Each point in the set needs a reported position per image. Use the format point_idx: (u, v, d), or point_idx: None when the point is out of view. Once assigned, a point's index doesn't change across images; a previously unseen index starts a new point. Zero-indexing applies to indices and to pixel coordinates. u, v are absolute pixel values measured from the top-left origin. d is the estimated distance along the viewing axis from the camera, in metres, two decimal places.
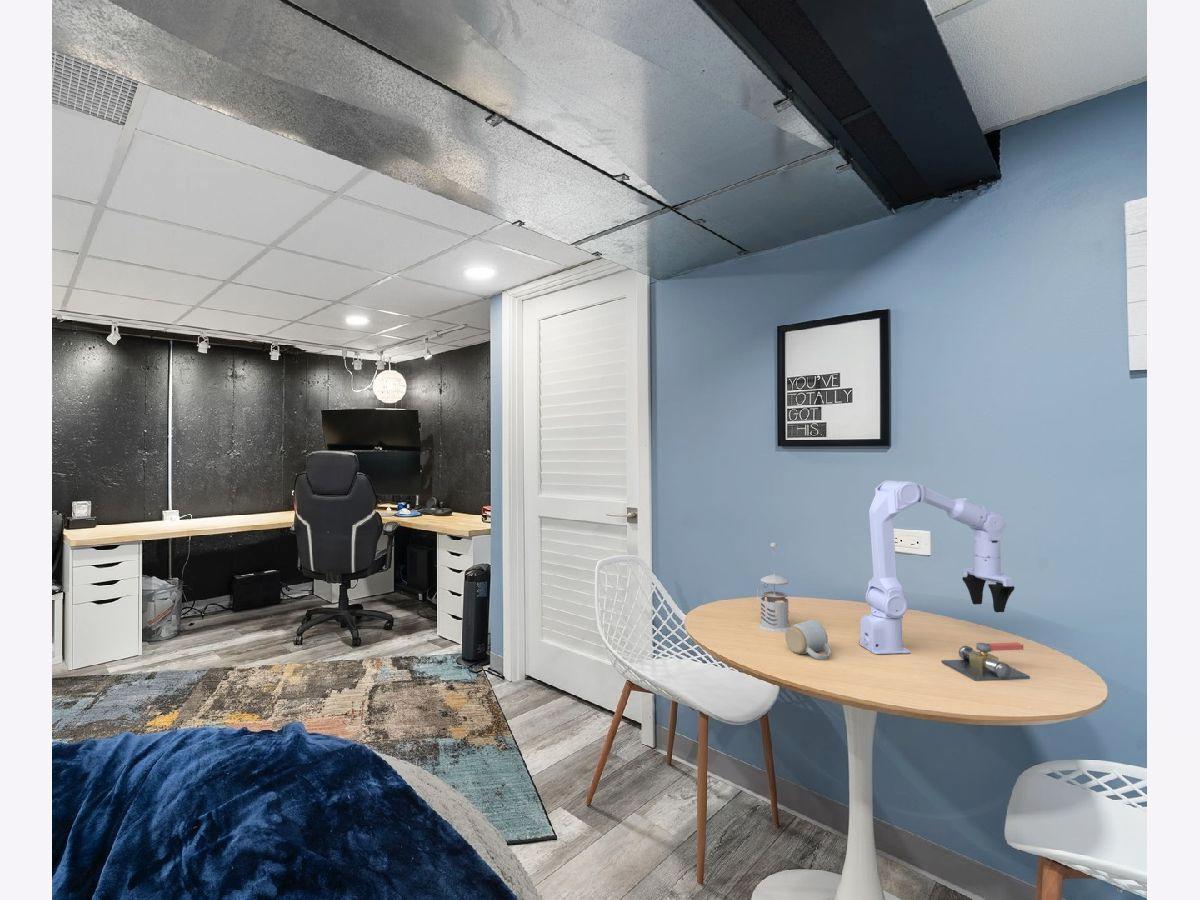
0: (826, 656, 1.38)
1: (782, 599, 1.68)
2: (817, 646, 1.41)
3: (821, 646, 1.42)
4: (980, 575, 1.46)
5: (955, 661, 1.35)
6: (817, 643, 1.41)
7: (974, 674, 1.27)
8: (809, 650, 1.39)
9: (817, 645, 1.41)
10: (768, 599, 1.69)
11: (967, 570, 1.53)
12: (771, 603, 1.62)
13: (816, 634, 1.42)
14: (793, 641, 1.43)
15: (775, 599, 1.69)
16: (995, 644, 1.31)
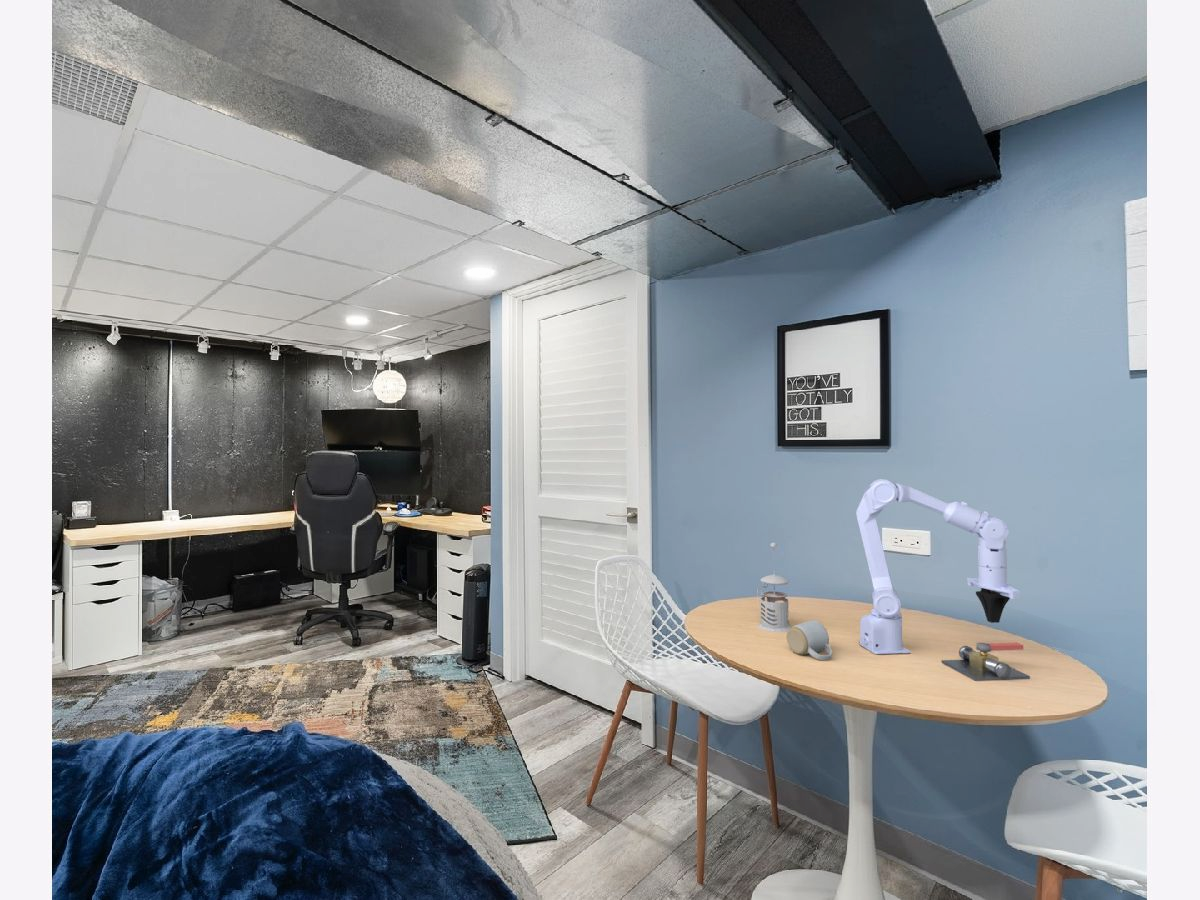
0: (827, 657, 1.38)
1: (782, 599, 1.68)
2: (818, 646, 1.41)
3: (822, 646, 1.42)
4: (985, 586, 1.35)
5: (955, 661, 1.35)
6: (818, 643, 1.41)
7: (974, 674, 1.27)
8: (810, 651, 1.39)
9: (818, 645, 1.41)
10: (768, 599, 1.69)
11: (971, 581, 1.42)
12: (771, 603, 1.62)
13: (817, 634, 1.41)
14: (795, 642, 1.42)
15: (775, 599, 1.69)
16: (995, 644, 1.31)
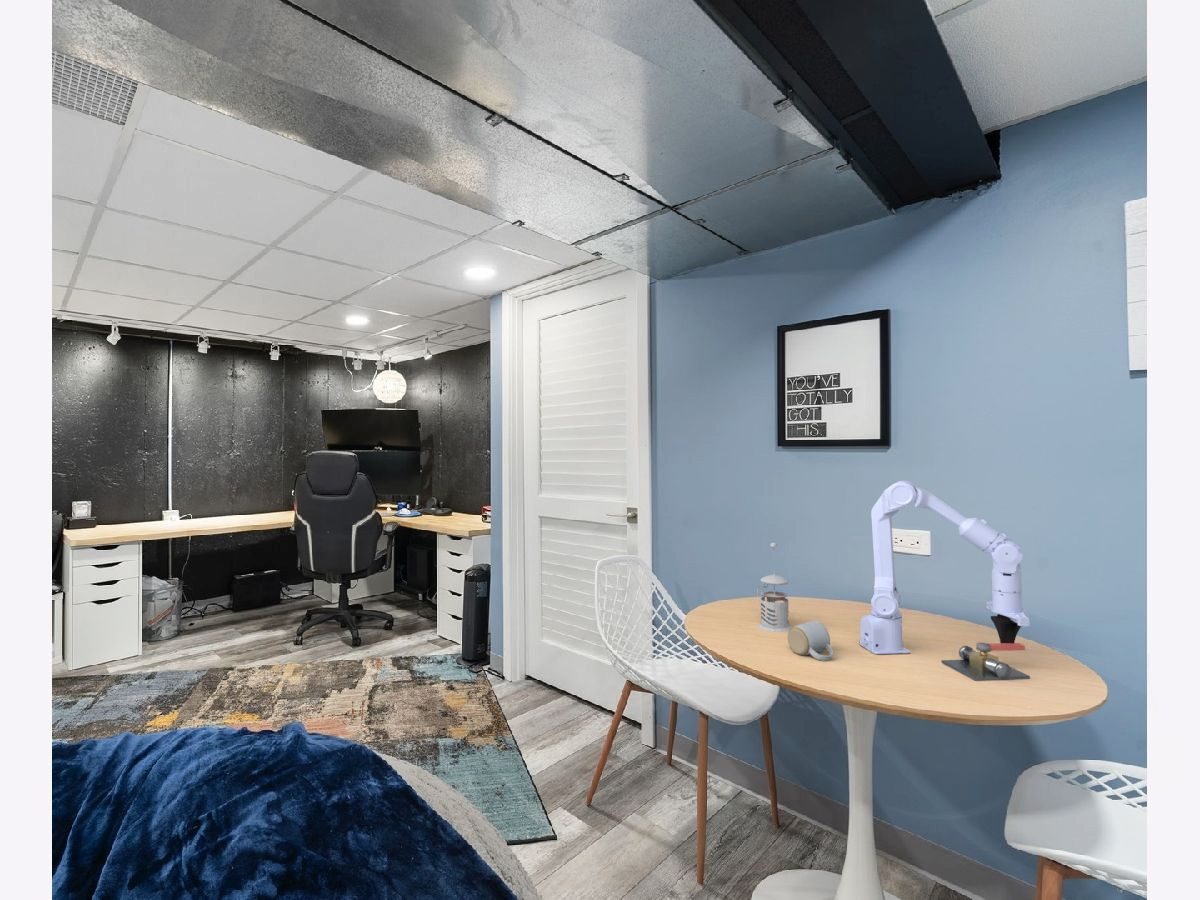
0: (829, 657, 1.37)
1: (782, 599, 1.68)
2: (819, 647, 1.41)
3: (823, 647, 1.41)
4: (996, 611, 1.32)
5: (955, 661, 1.35)
6: (819, 644, 1.40)
7: (974, 674, 1.27)
8: (811, 651, 1.39)
9: (819, 646, 1.41)
10: (768, 599, 1.69)
11: (988, 604, 1.38)
12: (771, 603, 1.62)
13: (818, 635, 1.41)
14: (796, 642, 1.42)
15: (775, 599, 1.69)
16: (995, 644, 1.31)
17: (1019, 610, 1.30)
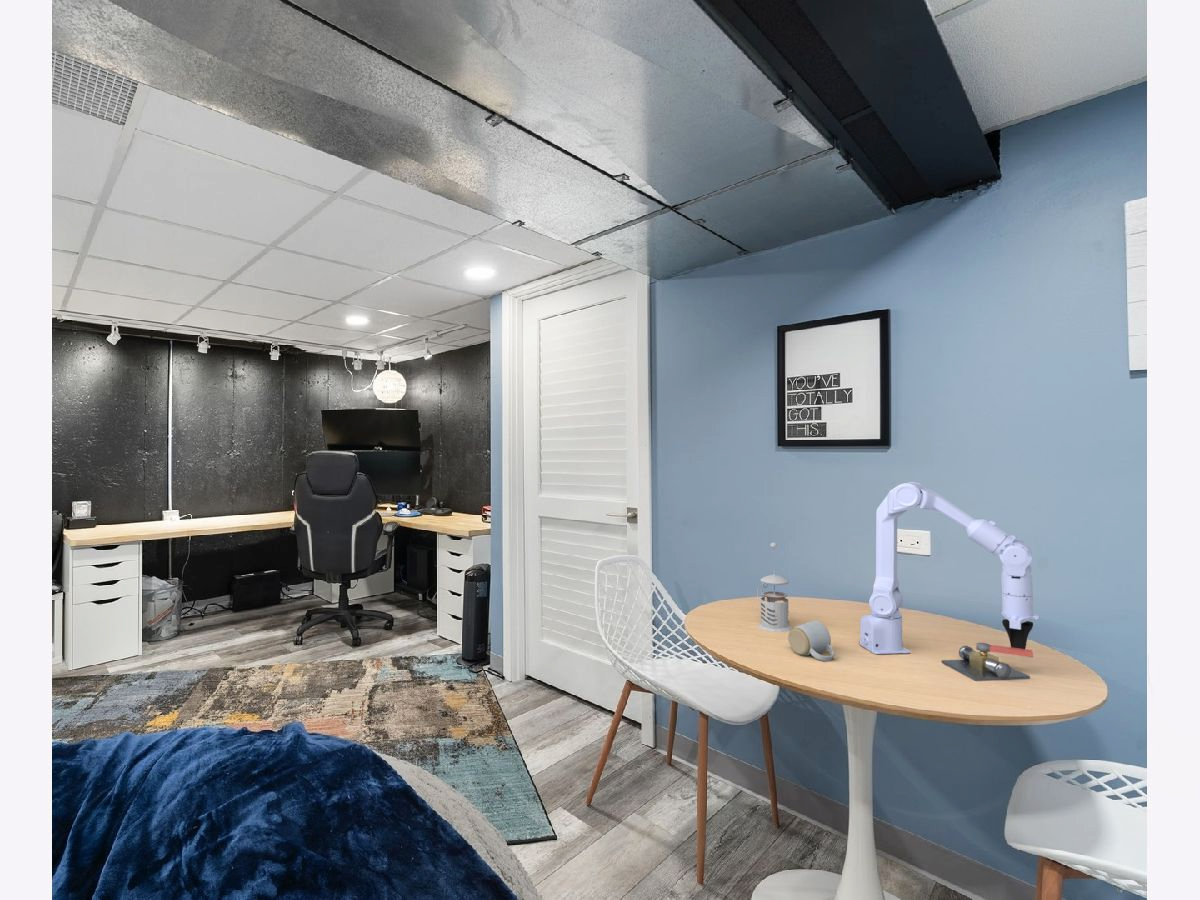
0: (829, 657, 1.37)
1: (782, 599, 1.68)
2: (820, 647, 1.40)
3: (824, 647, 1.41)
4: (1001, 613, 1.30)
5: (955, 661, 1.35)
6: (820, 644, 1.40)
7: (974, 674, 1.27)
8: (812, 651, 1.38)
9: (820, 646, 1.40)
10: (768, 599, 1.69)
11: None
12: (771, 603, 1.62)
13: (819, 635, 1.41)
14: (796, 642, 1.42)
15: (775, 599, 1.69)
16: (998, 646, 1.29)
17: (1024, 614, 1.26)
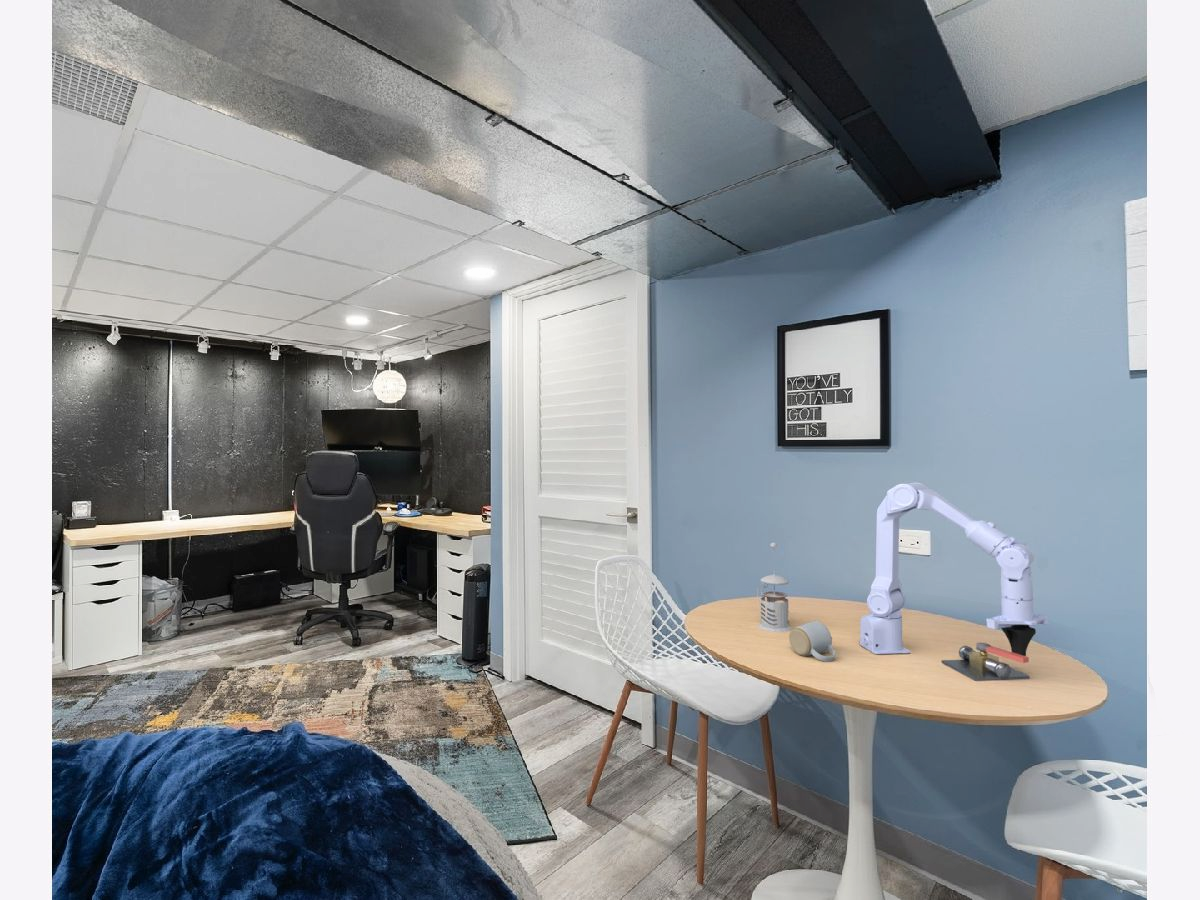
0: (830, 658, 1.37)
1: (782, 599, 1.68)
2: (821, 648, 1.40)
3: (825, 648, 1.41)
4: None
5: (955, 661, 1.35)
6: (821, 645, 1.40)
7: (974, 674, 1.27)
8: (813, 652, 1.38)
9: (821, 647, 1.40)
10: (768, 599, 1.69)
11: None
12: (771, 603, 1.62)
13: (820, 636, 1.40)
14: (797, 643, 1.41)
15: (775, 599, 1.69)
16: (996, 648, 1.28)
17: (1014, 618, 1.23)
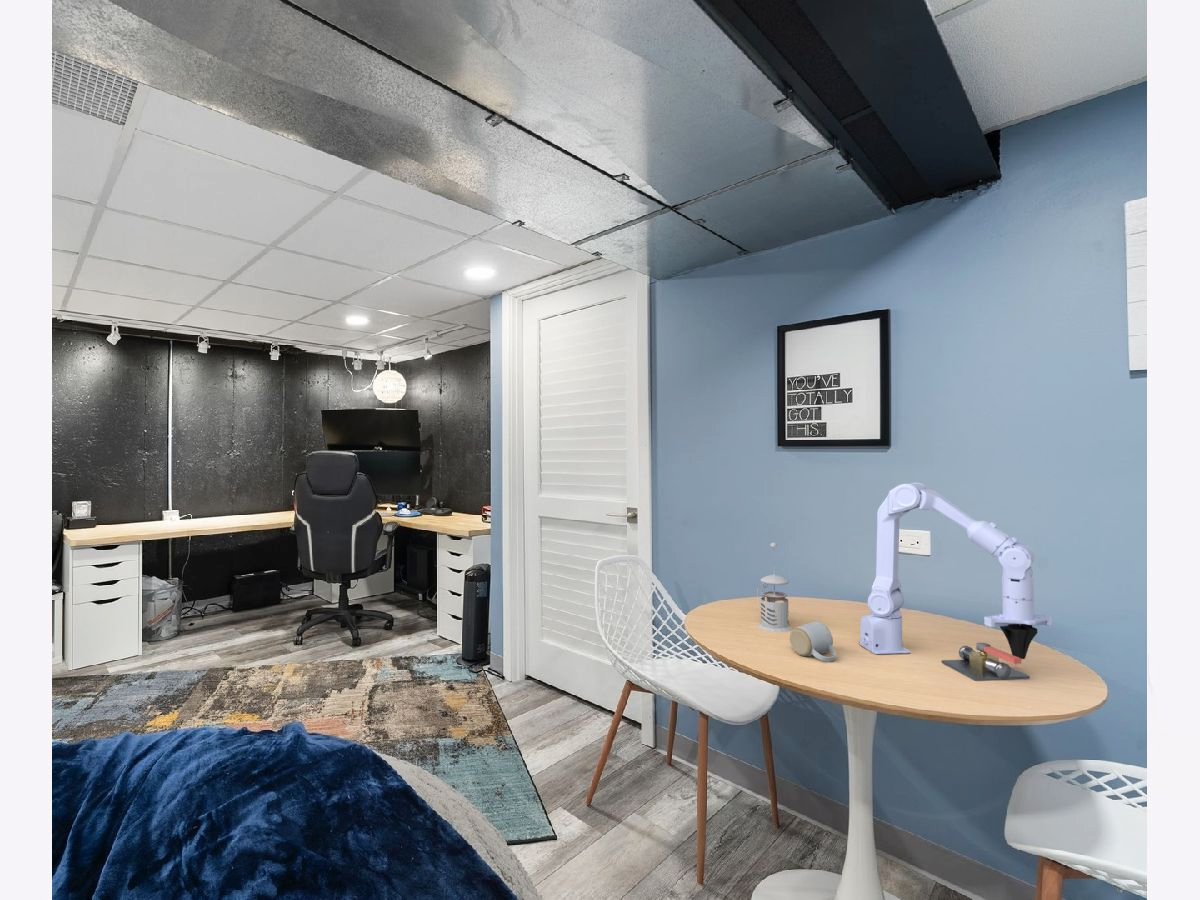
0: (831, 658, 1.37)
1: (782, 599, 1.68)
2: (822, 648, 1.40)
3: (826, 648, 1.41)
4: None
5: (955, 661, 1.35)
6: (822, 645, 1.40)
7: (974, 674, 1.27)
8: (814, 652, 1.38)
9: (822, 647, 1.40)
10: (768, 599, 1.69)
11: None
12: (771, 603, 1.62)
13: (821, 636, 1.40)
14: (798, 643, 1.41)
15: (775, 599, 1.69)
16: (993, 649, 1.28)
17: (1013, 617, 1.25)
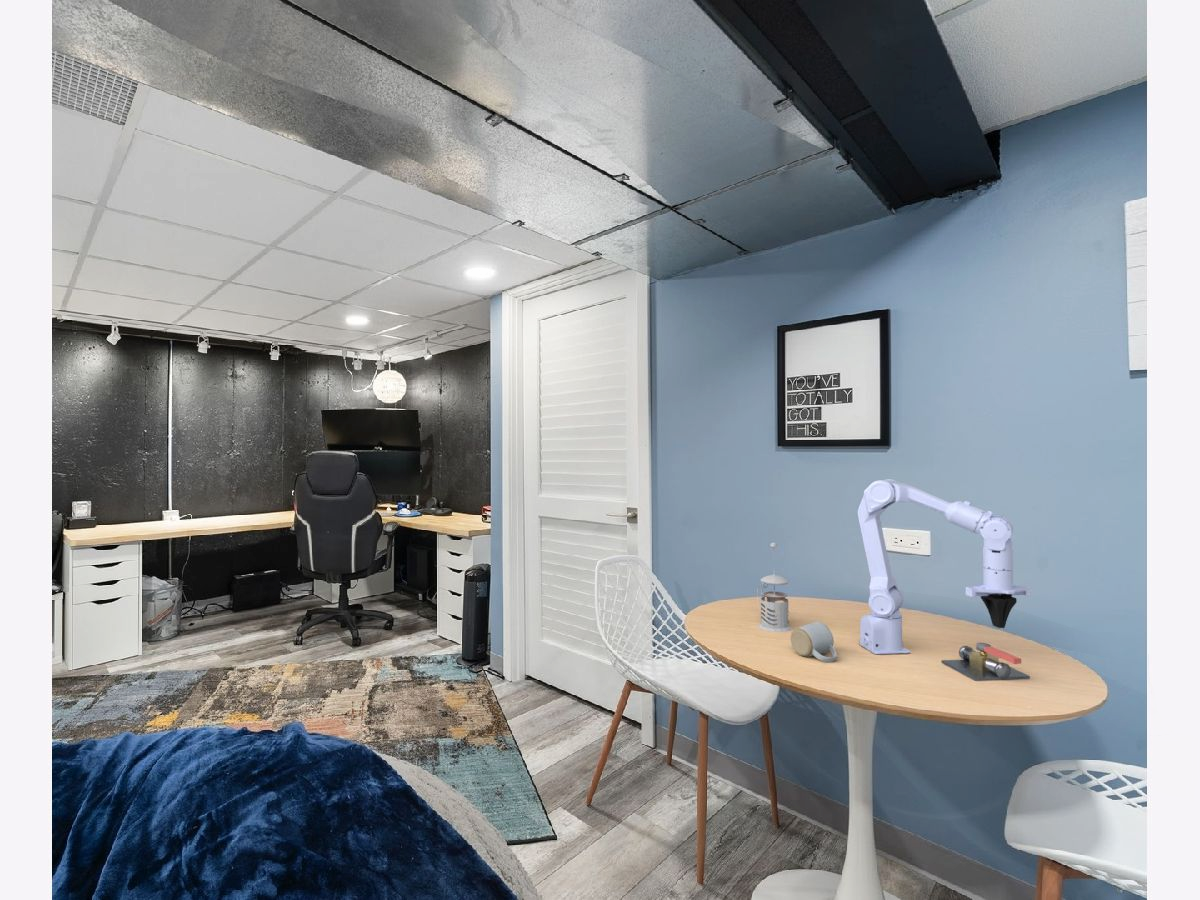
0: (832, 658, 1.36)
1: (782, 599, 1.68)
2: (823, 648, 1.40)
3: (827, 648, 1.40)
4: None
5: (955, 661, 1.35)
6: (823, 645, 1.39)
7: (974, 674, 1.27)
8: (815, 652, 1.38)
9: (823, 647, 1.40)
10: (768, 599, 1.69)
11: None
12: (771, 603, 1.62)
13: (822, 636, 1.40)
14: (799, 643, 1.41)
15: (775, 599, 1.69)
16: (993, 649, 1.28)
17: (993, 587, 1.29)
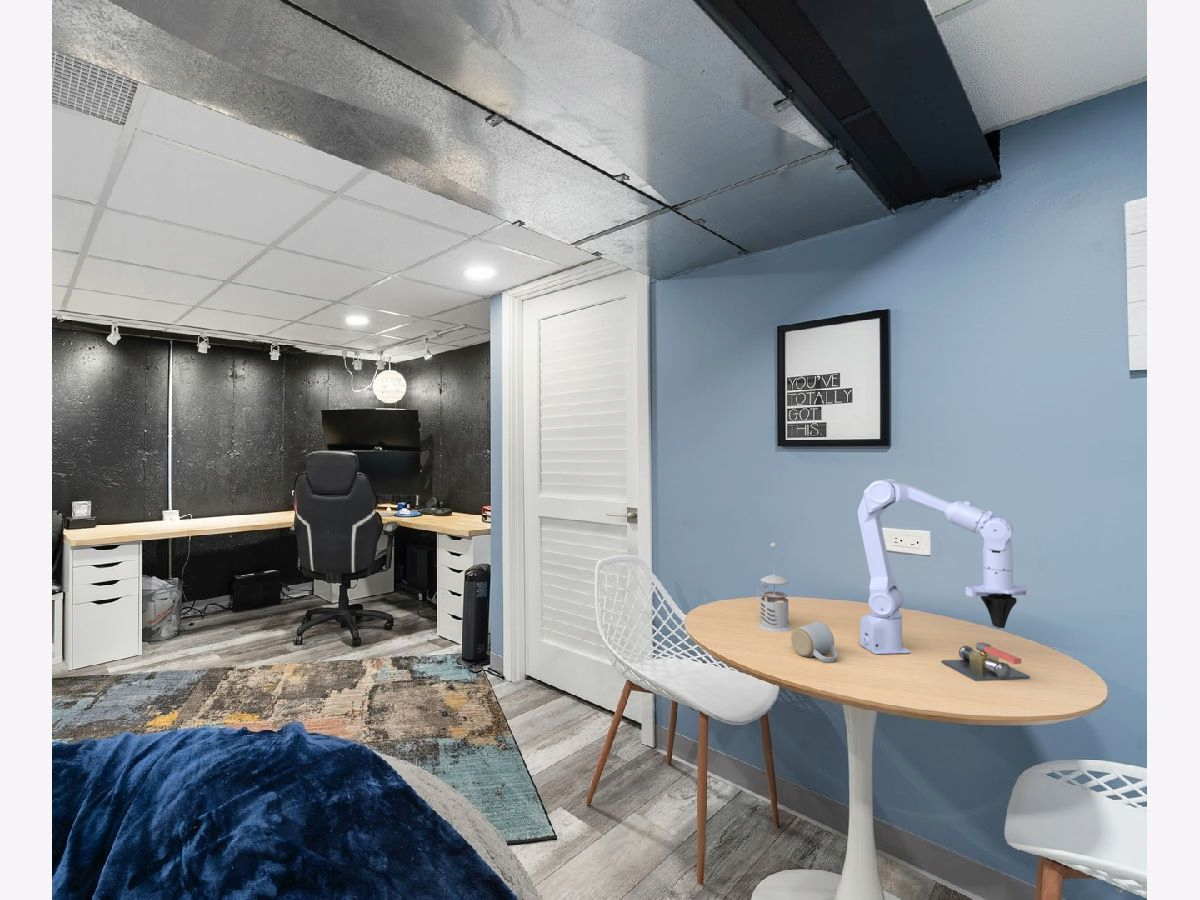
0: (833, 659, 1.36)
1: (782, 599, 1.68)
2: (824, 649, 1.39)
3: (828, 648, 1.40)
4: None
5: (955, 661, 1.35)
6: (824, 645, 1.39)
7: (974, 674, 1.27)
8: (816, 653, 1.38)
9: (824, 648, 1.39)
10: (768, 599, 1.69)
11: None
12: (771, 603, 1.62)
13: (823, 636, 1.40)
14: (799, 644, 1.41)
15: (775, 599, 1.69)
16: (993, 649, 1.28)
17: (993, 587, 1.29)
